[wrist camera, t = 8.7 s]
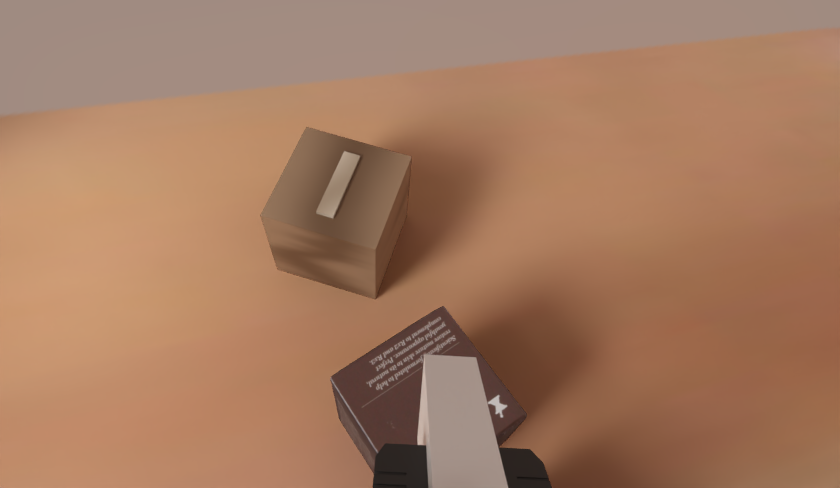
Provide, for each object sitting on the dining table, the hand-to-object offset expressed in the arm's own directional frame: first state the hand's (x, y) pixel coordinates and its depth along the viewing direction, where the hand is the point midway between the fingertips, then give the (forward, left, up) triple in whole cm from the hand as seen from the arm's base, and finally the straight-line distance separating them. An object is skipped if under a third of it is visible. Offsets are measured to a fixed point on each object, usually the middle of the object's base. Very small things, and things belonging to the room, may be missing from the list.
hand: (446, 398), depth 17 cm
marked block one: (-10, +10, -14) cm, 20 cm away
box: (-1, +2, -14) cm, 15 cm away
